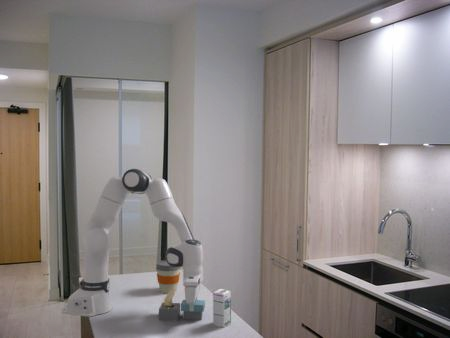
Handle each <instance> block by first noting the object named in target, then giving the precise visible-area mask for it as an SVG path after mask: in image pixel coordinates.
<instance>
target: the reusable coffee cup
mask: <svg viewBox="0 0 450 338" xmlns="http://www.w3.org/2000/svg"><path fill="white" fill-rule="evenodd" d="M155 267H156V268H155V269H156V272H157V273H156V277H157V279H156V280H157V283H158V288H159V292H160V294H168V293H169V291H170V289H175V293H176V292H177V291H178V283H179V282H180V274H181V273H180V269H181V267H171V266H170V265H169V264H168V263H167V261H166V259H163V260H159V261H157V262H156V266H155Z"/></svg>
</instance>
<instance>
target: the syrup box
mask: <svg viewBox="0 0 450 338" xmlns="http://www.w3.org/2000/svg"><path fill="white" fill-rule="evenodd" d="M231 294H232V292H231V290H229V289H224V288H219V289H217V290H216V291H213V292H212V320H213V321H212V323H213V325H214V326H215V327H220V328H226V327H227V326H229V325H231V323H232V305H231V303H232V300H231V299H232V298H231V297H232V296H231Z"/></svg>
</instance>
